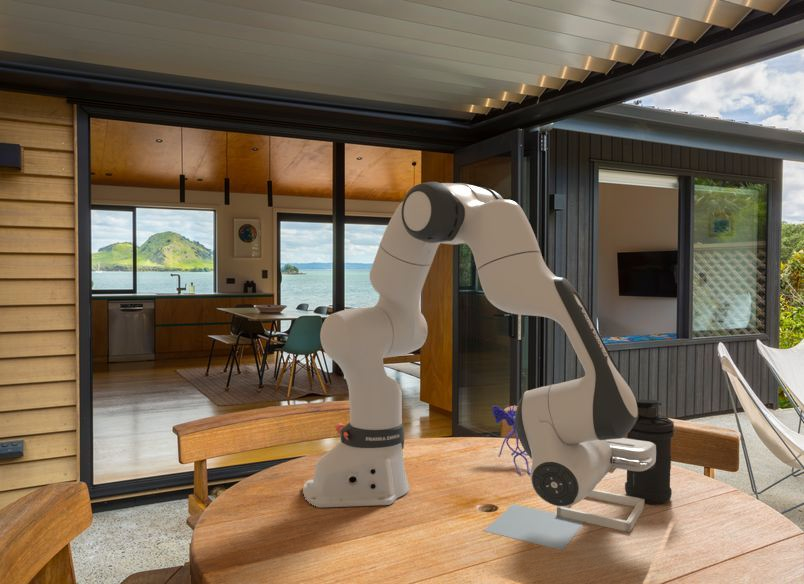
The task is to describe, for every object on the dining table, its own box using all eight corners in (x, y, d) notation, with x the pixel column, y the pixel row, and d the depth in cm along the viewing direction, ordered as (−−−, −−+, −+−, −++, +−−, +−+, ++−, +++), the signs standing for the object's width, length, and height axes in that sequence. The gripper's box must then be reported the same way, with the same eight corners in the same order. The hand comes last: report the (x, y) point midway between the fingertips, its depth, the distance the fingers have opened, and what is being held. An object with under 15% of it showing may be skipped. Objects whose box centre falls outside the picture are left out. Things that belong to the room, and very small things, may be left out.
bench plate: (562, 559, 99) (562, 550, 99) (483, 538, 106) (483, 530, 106) (585, 528, 111) (586, 520, 110) (513, 511, 118) (513, 503, 118)
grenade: (676, 507, 120) (679, 407, 119) (618, 503, 122) (620, 404, 121) (666, 490, 129) (668, 397, 128) (612, 486, 131) (613, 395, 130)
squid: (488, 506, 146) (497, 461, 134) (470, 394, 173) (477, 348, 161) (547, 505, 147) (561, 460, 135) (520, 393, 173) (531, 348, 162)
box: (629, 540, 106) (630, 523, 105) (556, 523, 113) (556, 507, 112) (644, 514, 117) (644, 499, 116) (576, 500, 124) (576, 486, 123)
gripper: (649, 447, 97) (663, 428, 109) (527, 429, 108) (552, 414, 120) (648, 486, 97) (663, 463, 109) (527, 464, 108) (552, 445, 120)
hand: (604, 437), depth 115 cm, fingers closed on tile, 4 cm apart
